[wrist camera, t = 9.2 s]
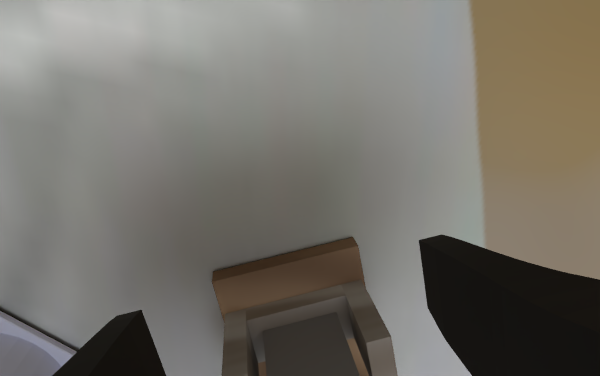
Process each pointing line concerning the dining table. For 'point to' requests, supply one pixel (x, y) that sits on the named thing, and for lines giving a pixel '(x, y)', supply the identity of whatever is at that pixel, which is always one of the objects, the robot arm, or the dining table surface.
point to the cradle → (300, 306)
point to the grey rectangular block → (309, 349)
